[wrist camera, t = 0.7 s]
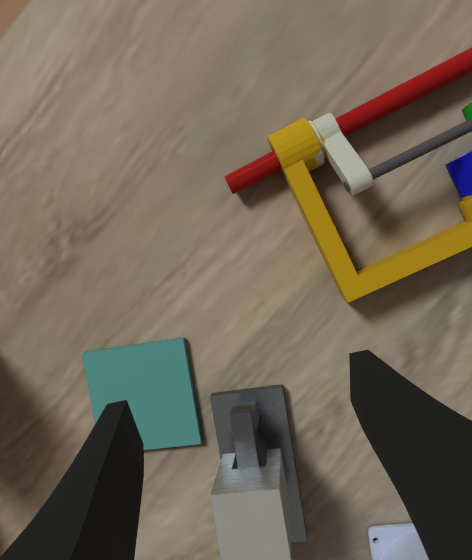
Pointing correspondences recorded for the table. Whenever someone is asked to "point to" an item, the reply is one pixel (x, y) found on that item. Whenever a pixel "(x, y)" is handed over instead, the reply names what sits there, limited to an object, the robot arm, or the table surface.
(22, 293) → the table surface
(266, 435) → the rail holder
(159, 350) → the teal mat
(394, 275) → the mechanical clamp
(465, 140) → the table surface
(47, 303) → the table surface
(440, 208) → the table surface
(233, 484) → the steel hook block
